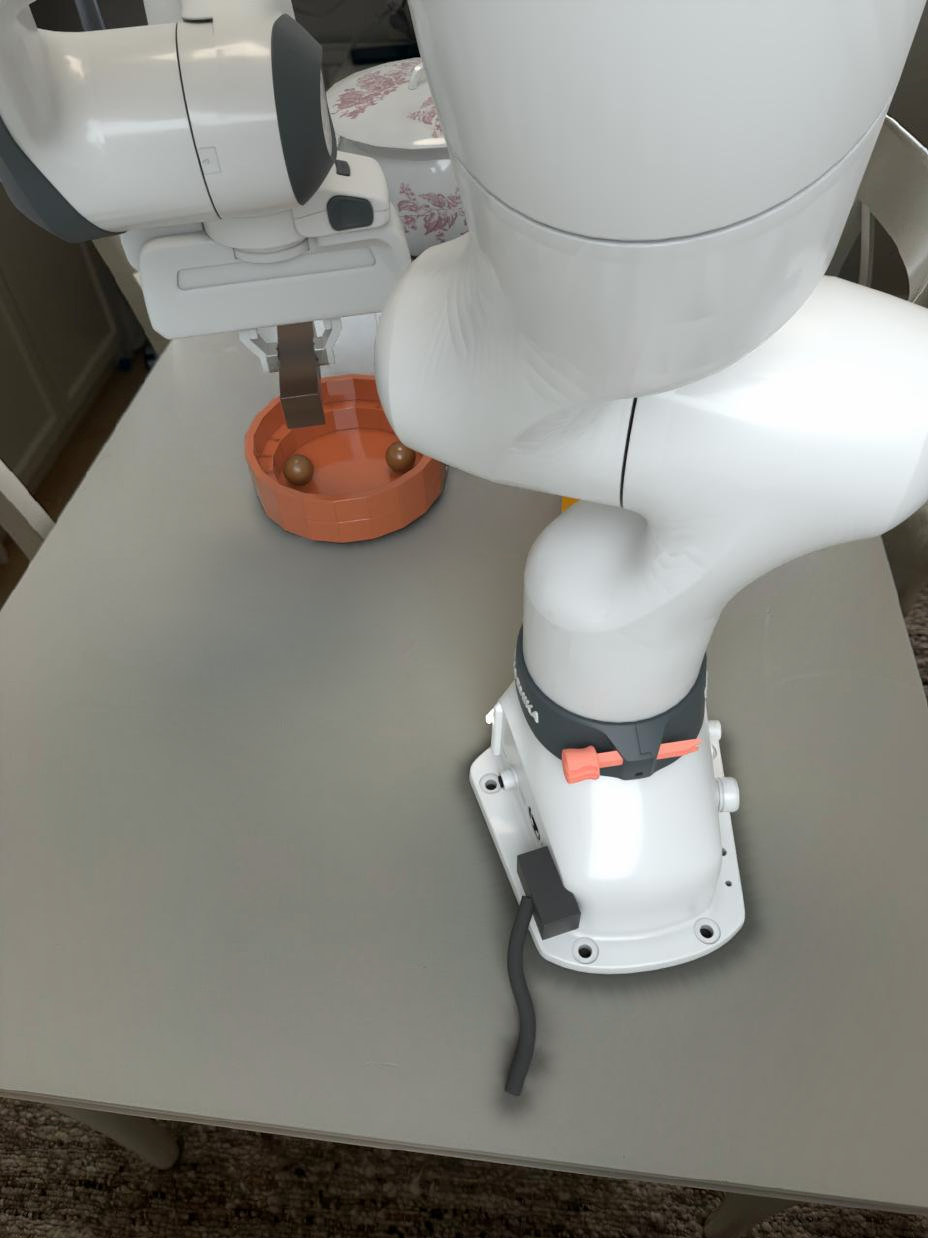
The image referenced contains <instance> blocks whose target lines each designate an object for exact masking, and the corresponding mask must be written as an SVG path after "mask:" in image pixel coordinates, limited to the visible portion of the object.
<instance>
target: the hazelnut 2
mask: <svg viewBox="0 0 928 1238" xmlns="http://www.w3.org/2000/svg"><path fill="white" fill-rule="evenodd" d="M385 459H386V463H387V465H388V466H389V467H390V468H391V469H392V470H394V471H396V472H405V471H408V470H409V469H411V468H412V467H413V465H414V463H415V460H416V453H415V450H412V449H410V448H408V447H406V446H405V445H404V444H403V443H402V442H401V441H397V442H394V443H392V444H391V445H390V446H389V447H388V448H387V450H386V453H385Z"/></svg>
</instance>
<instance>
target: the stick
mask: <svg viewBox="0 0 928 1238" xmlns="http://www.w3.org/2000/svg"><path fill="white" fill-rule="evenodd" d="M276 334H277V337H276V339H277V344H278V350H279V352H278V354H279V360H278V362H279V372H278V381H279V386H278V387H279V396H280V401H281V405H282V408H283V412H284V416H285V420H286V424H287V428H288V429H294V428H302V427H309V426H317V425H324V424H325V414H324V403H323V392H322V382H321V378H322V372H321V371H322V370H321V366H318V364H317V358H316V355H315V352H314V343H313V338H314V337H318V335H317V330H316V323H315V321H310V322H302V323H295V324H287V325H279V326H276Z"/></svg>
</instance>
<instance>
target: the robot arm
mask: <svg viewBox="0 0 928 1238" xmlns="http://www.w3.org/2000/svg"><path fill="white" fill-rule="evenodd" d="M36 1H37V0H0V182H1V184H2V187H3V188H4V191H5V192H6V195H7V196H8V198H9V200H10V202H11V203H12V205H13V206H14V207H15V208H16V209H17V210H18V211H19V212H20V213H21V214H22V215H24V216H25V218H27V219H29V220H30V221H31V222H33V223H34V224H35V225H37V226H38V227H40V228H41V229H43V230H45V231H46V232H48V233H49V234H51V235H52V236H55V237H57V238H59V239H60V240H62V241H64V242H66V243H68V244H75V245H76V244H80V243H84V242H90V241H94V240H100V239H105V238H109V237H114V236H118V237H119V241H120V244H121V247H122V250H123V252H124V255H125V258H126V261H128V263H129V265H130V266H131V267H132V268H133V269H134V270H135V271H136V272H138V273H139V278H140V285H141V290H142V294H143V299H144V304H145V308H146V311H147V312H146V313H147V316H148V319H149V322H150V324H151V327H152V329H153V330H154V332H156V334H158V335H160V336H161V337H163V338H164V339H166V340H168V341H170V340H181V339H186V338H194V337H195V338H196V337H202V336H210V335H217V334H226V333H233V332H237V334H238V338H239V341H240V342H241V343H242V344H243V345H244V346H245V347H246V348H247V349H248V350H249V351H250V352H251V353H252V354H254V355H255V356H256V357H257V358H259V360H260V364H261V368H262V372H263V374H264V375H265V374H271V373H272V374H273V373H279V362H278V360H279V354H278V352H279V350H278V341H277V342H276V341H275V342H267V341H266V340H265V339H264V338H263V337H262V335H260V334H259V331H258V330H259V329H263V328H271V327H277V326H279V325H287V324H295V323H302V322H310V321H314V322H317V321H322V323H323V326H324V331H323V332H322V333H323V334H322V335H321V336H317V337H314V338H313V343H314V352H315V355H316V358H317V364H318V366H320V367H322V366H330V365H336V359H335V353H334V352H335V351H334V347H335V346H336V345H335V344H336V342H337V341H338V338H339V336H340V334H341V331H342V330H343V323H342V318H346V317H347V318H348V317H355V316H363V315H371V314H377V313H380V316H379V319H378V321H377V326H376V331H375V337H374V345H373V375H375V381H376V387H377V392H378V396H379V399H380V402H381V405H382V408H383V411H384V413H385V415H386V417H387V419H388V421H389V424H390V426H391V427H392V429H393V431H394V432H395V434H396V435H397V437H398V438H399V440H400V441H401V442H402V443H403V444H404V445H405V446H406V447H408V448H410V449H412V450H415V451H417V452H419V453H421V454H424V455H426V456H428V457H430V458H433V459H435V460H438V461H440V462H442V463H445V464H446V466H450V467H451V468H455V469H457V470H460V471H462V472H465V473H467V474H470V475H472V476H475V477H478V478H480V479H484V480H485V481H489V482H492V483H495V484H500V485H504V486H508V487H514V488H518V489H524V490H529V491H534V492H540V493H544V494H545V493H546V494H550V495H555V496H560V497H562V496H565V497H570V498H575V499H580V501H578V502H576V503H575V504H573V505H572V506H570V507H569V508H567V509H566V510H565V511H564V512H562V513H559V514H558V515H557V516H555V518H554V519H553V520H551V521H550V522H549V523H548V524H547V525H546V526H545V527H544V528H543V529H542V531H541V532H540V533H539V534H538V535H537V537H536V538H535V540H534V542H533V544H532V545H531V547H530V549H529V552H528V555H527V557H526V560H525V564H524V570H523V605H522V606H523V611H522V613H523V614H522V623H521V625H520V627H519V630H518V634H517V638H516V644H515V646H514V652H513V674H514V679H513V680H512V682H511V683H510V685H509V686H508V687H507V688H506V690H505V691H504V692H503V694H502V695H501V696H500V697H499V698H498V699H497V701H496V703H495V704H494V705H493V708H492V709H491V710H490V711H489V712H488V714H486V716H485V721H486V723H487V724H491V739H490V746H489V747H488V748H487V749H485V750H484V751H483V752H482V753H480V754H479V756H477V757H476V758H475V760H474V761H473V762H472V763H471V765H470V768H469V775H468V779H469V783H470V786H471V789H472V791H473V793H474V796H475V799H476V801H477V803H478V805H479V809H480V811H481V813H482V816H483V818H484V821H485V823H486V825H487V829H488V831H489V834H490V836H491V838H492V841H493V843H494V846H495V848H496V851H497V854H498V856H499V859H500V861H501V863H502V866H503V868H504V871H505V874H506V876H507V878H508V881H509V883H510V886H511V888H512V892H513V894H514V896H515V899H516V901H517V903H518V909H517V911H516V915H515V918H514V921H513V924H512V928H511V931H510V934H509V940H508V945H507V953H506V954H507V956H506V964H507V965H506V967H507V975H508V981H509V985H510V988H511V991H512V992H511V993H512V995H513V998H514V1001H515V1004H516V1006H517V1012H518V1017H519V1038H518V1044H517V1049H516V1052H515V1055H514V1059H513V1061H512V1065H511V1068H510V1070H509V1073H508V1077H507V1079H506V1083H505V1086H504V1092H505V1093H507V1094H510V1095H511V1096H516V1097H520V1096H521V1094H522V1090H523V1086H524V1083H525V1081H526V1077H527V1074H528V1071H529V1068H530V1065H531V1062H532V1057H533V1055H534V1054H533V1053H534V1049H535V1042H536V1030H537V1025H536V1024H537V1023H536V1013H535V1008H534V1003H533V1001H532V997H531V994H530V991H529V987H528V984H527V981H526V978H525V971H524V962H523V961H524V960H523V957H524V947H525V943H526V938H527V934H528V931H529V933H530V936H531V939H532V941H533V943H534V945H535V948H536V950H537V952H538V953H539V955H540V956H541V957H542V958H543V959H544V960H546V961H548V962H551V963H553V964H554V965H556V966H560V967H562V968H565V969H569V970H572V971H574V972H580V973H581V972H582V973H587V974H597V975H622V974H623V975H625V974H626V975H627V974H635V973H643V972H650V971H651V972H652V971H657V970H662V969H666V968H671V967H676V966H679V965H682V964H685V963H689V962H692V961H695V960H698V959H700V958H703V957H704V956H707V955H709V954H711V953H713V952H714V951H716V950H718V949H720V948H722V947H723V946H724V945H725V944H727V943H728V942H729V941H731V940H732V939H733V937H735V936H736V934H737V933H738V932H739V931H740V930H741V929H742V928H743V926H744V923H745V919H746V909H745V901H744V895H743V888H742V887H743V886H742V882H741V881H742V880H741V874H740V869H739V863H738V861H739V860H738V855H737V849H736V843H735V842H736V841H735V836H734V830H733V824H732V823H733V822H732V818H731V813H735V812H737V811H738V810H739V808H740V788H739V783H738V781H737V779H736V777H732V776H725V773H724V766H723V760H722V754H721V753H722V752H721V747H720V740H721V739H722V724H721V721H720V720H718V719H709V718H708V709H707V702H706V699H707V698H708V681H709V679H708V673H709V672H708V670H707V669H708V665H707V664H708V656H707V648H708V646H709V643H710V641H711V637H712V636H713V633H714V630H715V628H716V626H717V624H718V621H719V619H720V617H721V615H722V613H723V611H724V609H725V607H726V606H727V605H728V603H729V602H730V601H731V600H732V599H733V598H734V597H735V596H736V595H737V594H738V593H739V592H740V591H742V590H743V589H745V588H746V587H747V586H749V585H750V584H752V583H754V582H755V581H756V580H758V579H759V578H761V577H763V576H764V575H767V574H768V573H770V572H771V571H773V570H775V569H778V568H779V567H781V566H783V565H785V564H787V563H790V562H792V561H794V560H796V559H798V558H799V559H800V558H801V557H805V556H807V555H809V554H812V553H815V552H818V551H821V550H824V549H827V548H832V547H835V546H838V545H843V544H848V543H852V542H858V541H863V540H869V539H874V538H878V537H881V536H882V535H884V534H885V533H887V532H889V531H891V530H893V529H895V528H896V527H897V526H899V525H901V524H902V523H903V522H904V521H906V520H908V519H909V518H910V517H911V516H912V515H914V514H915V513H916V512H917V511H918V510H919V509H921V508H922V507H923V506H924V505H925V504H926V503H927V502H928V307H925V306H922V305H919V304H917V303H914V302H911V301H909V300H905V299H904V298H901V297H899V296H898V297H897V296H895V295H892V294H891V293H886V292H884V291H881V290H877V289H874V288H872V287H869V286H865V285H863V284H860V283H856V282H853V281H850V280H847V279H845V278H841V277H837V276H833V275H825V274H826V272H827V270H828V268H829V266H830V264H831V262H832V260H833V258H834V256H835V253H836V251H837V248H838V245H839V242H840V240H841V237H842V234H843V232H844V229H845V227H846V223H847V221H848V218H849V215H850V213H851V210H852V207H853V205H854V202H855V199H856V197H857V194H858V192H859V189H860V187H861V184H862V180H863V179H864V175H865V173H866V170H867V167H868V165H869V162H870V160H871V158H872V157H871V156H872V154H873V151H874V149H875V146H876V143H877V140H878V138H879V135H880V133H881V131H882V128H883V125H884V122H885V119H886V116H887V114H888V112H889V109H890V106H891V103H892V101H893V98H894V95H895V93H896V91H897V88H898V86H899V82H900V79H901V76H902V73H903V71H904V67H905V64H906V62H907V59H908V56H909V53H910V50H911V48H912V44H913V41H914V40H915V39H914V38H915V36H916V33H917V30H918V27H919V24H920V21H921V17H922V15H923V12H924V9H925V7H926V3H927V2H928V1H927V0H406V1H407V5H408V9H409V13H410V18H411V22H412V27H413V31H414V36H415V40H416V44H417V48H418V52H419V55H420V57H421V60H422V63H423V67H424V70H425V74H426V78H427V81H428V85H429V88H430V92H431V96H432V99H433V103H434V106H435V109H436V113H437V116H438V119H439V122H440V125H441V129H442V132H443V135H444V138H445V142H446V145H447V148H448V152H449V155H450V159H451V163H452V166H453V170H454V173H455V177H456V181H457V185H458V189H459V192H460V196H461V200H462V204H463V208H464V212H465V217H466V221H467V225H468V230H469V231H468V232H467V233H465V234H464V235H462V236H460V237H458V238H456V239H454V240H451V241H448V242H445V243H442V244H439V245H435V246H432V247H430V248H428V249H426V250H425V251H424V252H423V253H422V254H420V255H419V256H418V257H417V256H416V258H415V259H414V260H412V256H410V252H409V249H408V245H407V241H406V237H405V234H404V230H403V227H402V224H401V220H400V217H399V215H398V213H397V211H396V209H395V207H394V206H393V204H392V203H391V202H390V197H389V190H388V185H387V181H386V178H385V175H384V173H383V171H382V169H381V167H380V165H379V163H378V162H377V161H376V160H375V159H373V158H370V157H366V156H361V155H356V154H351V153H346V152H342V151H337V144H338V141H337V136H336V133H335V131H334V127H333V123H332V119H331V115H330V112H329V107H328V103H327V98H326V92H327V91H326V87H325V80H324V75H323V67H322V63H323V52H324V51H323V46H322V45H321V44H320V43H319V42H318V41H317V39H315V37H313V36H312V35H311V33H309V31H307V29H306V28H304V27H303V26H302V24H301V23H299V22H298V21H297V20H296V15H295V11H294V7H293V3H292V0H142V1H143V6H144V12H145V16H146V21H147V25H137V26H128V27H119V28H109V29H99V30H89V31H88V30H87V31H56V30H55V31H54V30H48V29H43V28H38V26H37V24H36V21H35V19H34V16H33V13H32V10H31V8H30V4H32V3H34V2H36ZM490 785H493V786H495V788H494V789H488V788H487V787H488V786H490ZM703 929H705V930H707V931H709V933H710V935H711V937H705V936H703V935H702V933H701V930H703ZM582 949H587V950H588V951H589V952H590V956H588V957H582V956H581V955H580V953H579V951H580V950H582Z"/></svg>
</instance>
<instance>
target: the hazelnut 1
mask: <svg viewBox="0 0 928 1238" xmlns="http://www.w3.org/2000/svg"><path fill="white" fill-rule="evenodd" d="M283 474H284V476H285V478H286V479H287V481H289V482H290V483H292V484H294V485H304V484H306V483H308V482H309V481H310V480H311V479H312V477H313V474H314V466H313V463H312V461H311V460H310V459H309V458H308V457H306V456H305V455H302V454H294V455H291V456H289V457H288V458H287V459H286V460H285V462H284V464H283Z"/></svg>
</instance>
